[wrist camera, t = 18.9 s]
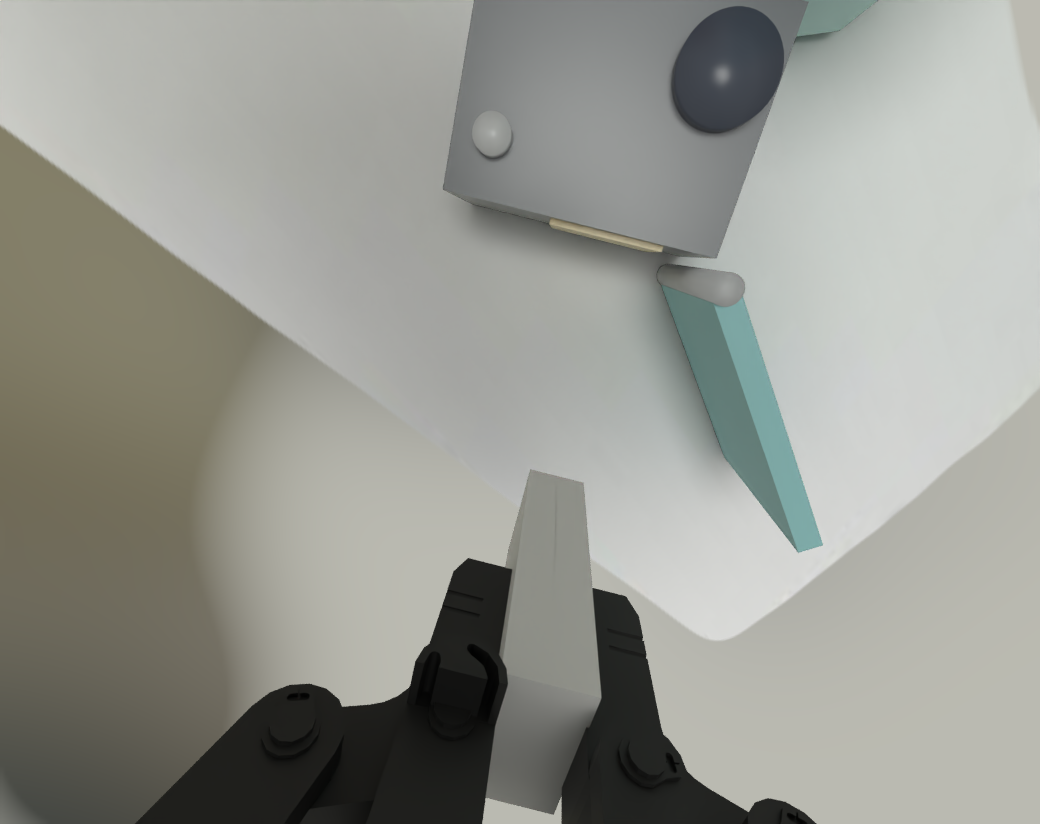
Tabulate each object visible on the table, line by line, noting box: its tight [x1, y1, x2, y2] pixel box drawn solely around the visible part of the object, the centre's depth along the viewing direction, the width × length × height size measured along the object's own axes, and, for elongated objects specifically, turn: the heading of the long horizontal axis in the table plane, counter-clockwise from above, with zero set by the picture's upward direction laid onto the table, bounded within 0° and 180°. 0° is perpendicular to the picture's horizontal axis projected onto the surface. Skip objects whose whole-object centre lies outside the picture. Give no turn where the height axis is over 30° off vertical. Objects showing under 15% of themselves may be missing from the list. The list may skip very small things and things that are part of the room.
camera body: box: [443, 0, 809, 258], centre depth 25 cm, size 11×14×9 cm
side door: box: [657, 264, 823, 553], centre depth 27 cm, size 15×2×12 cm, turn 25°
